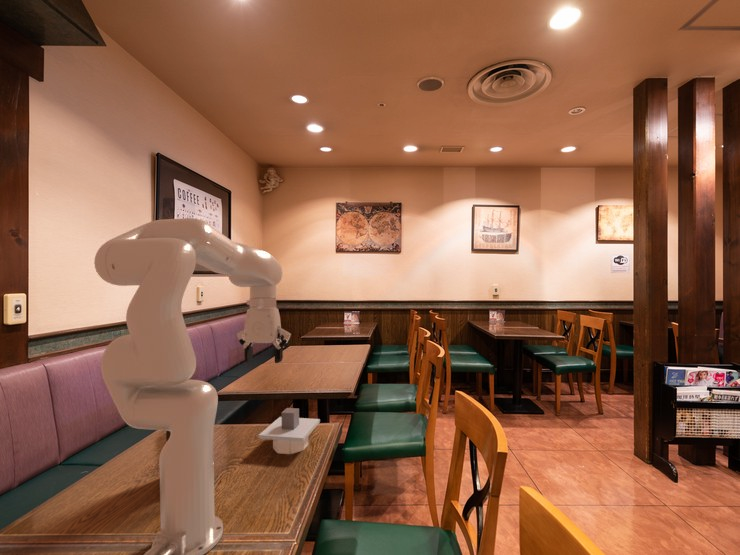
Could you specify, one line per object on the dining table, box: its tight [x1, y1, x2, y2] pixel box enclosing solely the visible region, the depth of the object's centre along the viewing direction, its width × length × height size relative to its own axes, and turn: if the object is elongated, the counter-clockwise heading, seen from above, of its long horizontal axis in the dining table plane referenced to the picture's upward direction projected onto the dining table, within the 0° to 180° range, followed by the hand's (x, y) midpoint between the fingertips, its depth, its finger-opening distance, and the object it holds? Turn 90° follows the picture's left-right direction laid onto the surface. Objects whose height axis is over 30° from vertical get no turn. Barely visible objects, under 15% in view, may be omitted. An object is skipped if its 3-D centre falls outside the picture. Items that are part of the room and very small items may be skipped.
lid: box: [258, 407, 321, 442], centre depth 110 cm, size 14×14×6 cm
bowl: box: [272, 436, 309, 455], centre depth 110 cm, size 10×10×5 cm
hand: (263, 361), depth 105 cm, fingers open, 9 cm apart
